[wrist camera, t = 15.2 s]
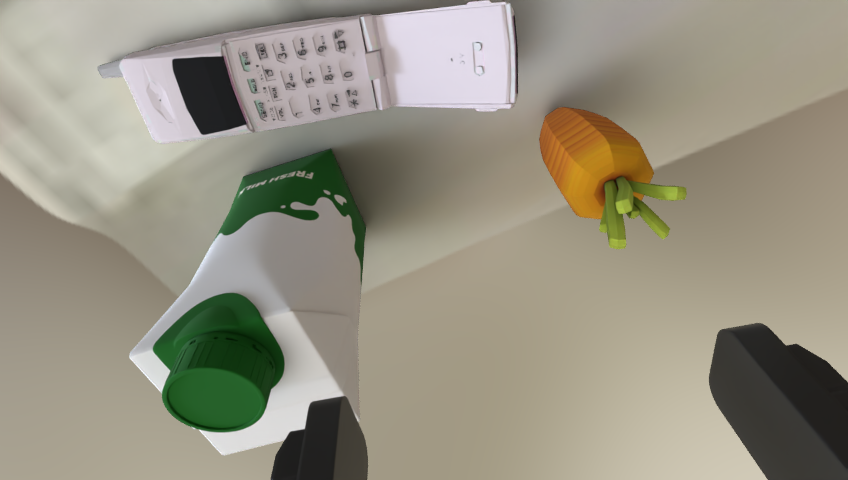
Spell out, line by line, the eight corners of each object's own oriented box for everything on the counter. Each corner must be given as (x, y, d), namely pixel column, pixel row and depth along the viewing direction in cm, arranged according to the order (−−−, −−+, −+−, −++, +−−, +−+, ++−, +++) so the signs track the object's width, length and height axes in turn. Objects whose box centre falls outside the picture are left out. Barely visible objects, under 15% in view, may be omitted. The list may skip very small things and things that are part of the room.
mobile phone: (520, 109, 28) (99, 177, 28) (500, 83, 33) (142, 141, 34) (517, -5, 25) (42, 73, 25) (494, -16, 30) (99, 50, 30)
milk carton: (338, 132, 34) (290, 332, 17) (381, 234, 39) (376, 467, 22) (225, 169, 35) (77, 391, 18) (281, 264, 40) (205, 508, 23)
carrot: (585, 73, 33) (706, 164, 20) (588, 140, 36) (697, 257, 23) (513, 91, 33) (589, 192, 21) (522, 156, 36) (593, 280, 24)
